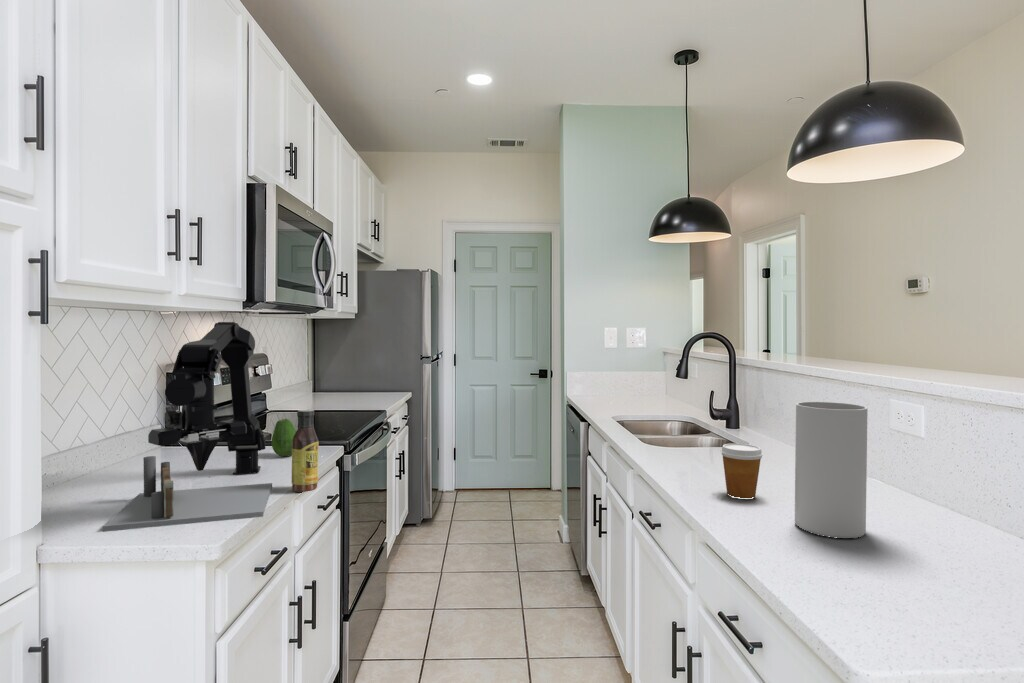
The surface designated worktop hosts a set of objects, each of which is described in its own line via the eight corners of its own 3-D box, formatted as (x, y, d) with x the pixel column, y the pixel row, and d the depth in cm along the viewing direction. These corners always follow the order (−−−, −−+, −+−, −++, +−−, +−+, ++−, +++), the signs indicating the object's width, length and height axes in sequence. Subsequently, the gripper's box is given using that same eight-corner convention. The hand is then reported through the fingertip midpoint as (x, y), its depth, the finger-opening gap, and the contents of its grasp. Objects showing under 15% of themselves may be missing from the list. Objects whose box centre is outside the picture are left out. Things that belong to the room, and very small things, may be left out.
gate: (160, 491, 133) (160, 462, 133) (169, 490, 134) (169, 461, 134) (163, 517, 114) (163, 483, 114) (174, 516, 115) (173, 482, 115)
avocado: (276, 454, 181) (275, 417, 180) (301, 453, 181) (301, 416, 181) (268, 459, 173) (267, 421, 172) (294, 459, 174) (294, 420, 173)
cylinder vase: (783, 518, 120) (785, 401, 119) (843, 519, 119) (844, 402, 119) (813, 540, 107) (815, 409, 107) (880, 541, 107) (881, 410, 107)
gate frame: (140, 497, 133) (139, 455, 133) (272, 486, 143) (272, 447, 143) (102, 531, 111) (102, 480, 110) (263, 516, 120) (262, 469, 120)
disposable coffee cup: (713, 496, 136) (714, 447, 135) (729, 488, 143) (729, 441, 142) (754, 505, 129) (754, 453, 129) (768, 496, 136) (768, 446, 136)
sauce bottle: (309, 493, 137) (309, 412, 136) (286, 492, 138) (286, 411, 138) (323, 486, 143) (323, 408, 143) (301, 485, 144) (301, 408, 144)
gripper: (223, 394, 137) (223, 458, 137) (137, 401, 122) (137, 473, 122) (247, 397, 130) (248, 464, 131) (159, 405, 115) (160, 481, 115)
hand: (200, 470), depth 125 cm, fingers closed
